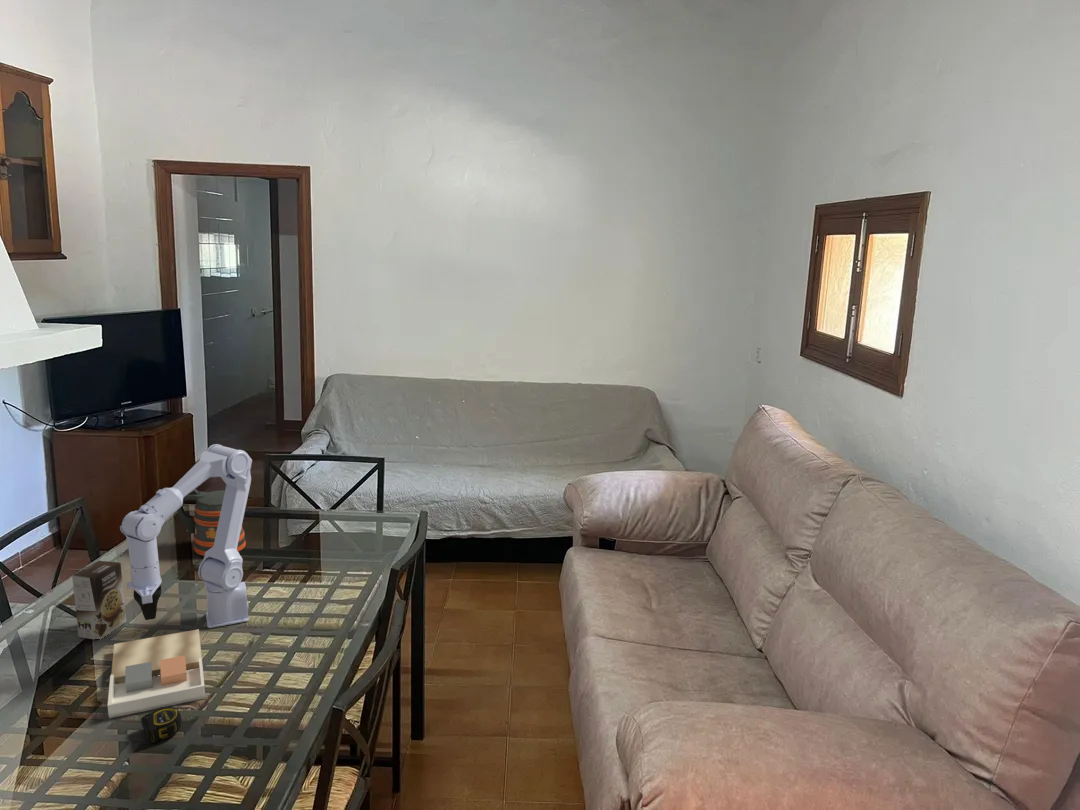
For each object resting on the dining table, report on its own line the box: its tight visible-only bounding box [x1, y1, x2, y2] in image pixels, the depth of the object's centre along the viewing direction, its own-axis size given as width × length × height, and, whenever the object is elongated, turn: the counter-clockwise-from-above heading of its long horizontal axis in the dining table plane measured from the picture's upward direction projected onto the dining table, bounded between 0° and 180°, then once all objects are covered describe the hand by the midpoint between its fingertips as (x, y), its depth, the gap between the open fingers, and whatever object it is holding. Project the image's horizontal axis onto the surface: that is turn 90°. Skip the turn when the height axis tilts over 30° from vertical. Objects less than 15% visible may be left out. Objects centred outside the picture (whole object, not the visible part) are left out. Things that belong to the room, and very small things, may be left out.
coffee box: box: [71, 560, 127, 641], centre depth 193 cm, size 9×6×16 cm
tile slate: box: [125, 662, 153, 693], centre depth 172 cm, size 5×5×2 cm
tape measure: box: [140, 706, 183, 744], centre depth 158 cm, size 7×7×4 cm
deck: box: [110, 628, 203, 684], centre depth 183 cm, size 18×15×2 cm
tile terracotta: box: [160, 655, 187, 685], centre depth 175 cm, size 5×5×2 cm
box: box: [107, 658, 206, 719], centre depth 170 cm, size 18×12×3 cm, turn 115°
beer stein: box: [176, 488, 247, 557], centre depth 240 cm, size 19×15×20 cm
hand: (150, 618), depth 183 cm, fingers closed
